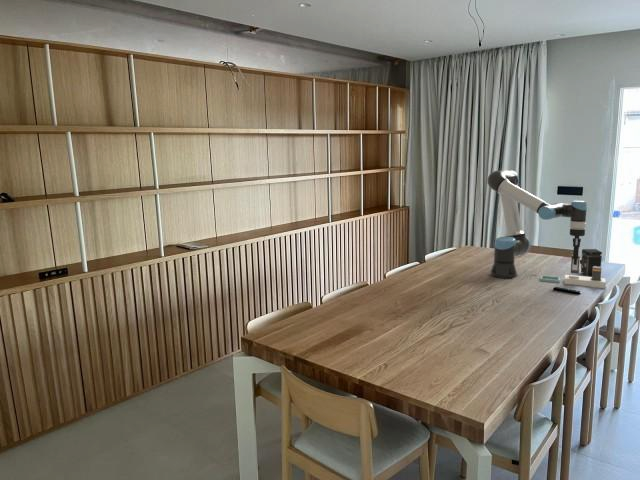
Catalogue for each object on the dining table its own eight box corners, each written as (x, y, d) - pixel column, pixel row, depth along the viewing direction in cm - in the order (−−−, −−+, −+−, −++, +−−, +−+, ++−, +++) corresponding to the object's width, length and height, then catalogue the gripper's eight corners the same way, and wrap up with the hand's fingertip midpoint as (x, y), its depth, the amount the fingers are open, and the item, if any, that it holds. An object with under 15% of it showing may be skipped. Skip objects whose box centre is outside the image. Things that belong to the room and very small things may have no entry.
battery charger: (564, 284, 266) (565, 266, 264) (564, 280, 274) (566, 263, 272) (605, 288, 257) (606, 269, 255) (604, 284, 264) (606, 266, 262)
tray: (540, 281, 273) (540, 278, 272) (541, 278, 279) (541, 275, 279) (559, 283, 268) (559, 280, 267) (560, 280, 275) (560, 277, 274)
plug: (570, 273, 266) (571, 256, 264) (570, 271, 269) (571, 254, 267) (578, 273, 264) (579, 256, 262) (578, 272, 267) (579, 255, 266)
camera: (593, 271, 291) (595, 248, 288) (602, 276, 281) (604, 251, 278) (576, 271, 292) (578, 248, 289) (584, 276, 282) (586, 251, 279)
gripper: (585, 231, 253) (582, 273, 257) (585, 226, 268) (582, 266, 272) (569, 230, 256) (566, 271, 261) (570, 225, 271) (567, 265, 275)
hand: (574, 268), depth 266 cm, fingers closed on plug, 4 cm apart
